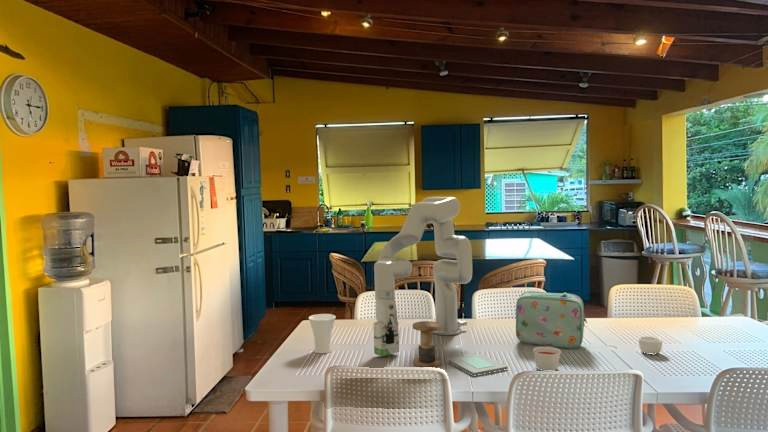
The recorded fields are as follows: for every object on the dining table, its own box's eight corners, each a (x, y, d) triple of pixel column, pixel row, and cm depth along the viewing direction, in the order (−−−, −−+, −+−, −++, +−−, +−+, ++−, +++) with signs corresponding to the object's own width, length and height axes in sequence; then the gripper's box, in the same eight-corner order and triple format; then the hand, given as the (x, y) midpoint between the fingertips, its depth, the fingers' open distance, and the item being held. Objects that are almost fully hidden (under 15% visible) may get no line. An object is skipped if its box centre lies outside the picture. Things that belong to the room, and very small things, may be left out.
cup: (314, 357, 200) (314, 321, 199) (305, 349, 209) (304, 315, 209) (340, 352, 205) (339, 318, 204) (330, 345, 214) (329, 312, 214)
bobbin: (432, 357, 198) (431, 319, 197) (446, 365, 189) (446, 326, 188) (408, 361, 194) (407, 323, 193) (421, 369, 185) (421, 329, 184)
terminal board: (480, 356, 198) (480, 353, 198) (507, 369, 183) (507, 366, 183) (448, 362, 192) (448, 358, 192) (473, 376, 177) (473, 372, 177)
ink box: (380, 356, 196) (379, 325, 195) (373, 353, 200) (372, 322, 199) (400, 352, 201) (399, 321, 200) (392, 348, 205) (391, 318, 204)
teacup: (665, 356, 194) (665, 342, 194) (642, 356, 196) (643, 341, 195) (655, 348, 204) (655, 334, 204) (634, 348, 205) (634, 334, 205)
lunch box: (587, 344, 211) (587, 291, 210) (585, 351, 202) (585, 296, 201) (519, 337, 222) (519, 286, 221) (514, 344, 213) (514, 291, 212)
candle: (555, 363, 189) (555, 346, 188) (564, 372, 180) (564, 354, 179) (530, 364, 188) (530, 346, 188) (538, 373, 179) (538, 354, 179)
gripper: (404, 297, 193) (405, 346, 194) (384, 288, 208) (385, 334, 209) (385, 299, 189) (387, 349, 191) (366, 291, 205) (368, 337, 206)
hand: (386, 340), depth 200 cm, fingers closed on ink box, 5 cm apart
